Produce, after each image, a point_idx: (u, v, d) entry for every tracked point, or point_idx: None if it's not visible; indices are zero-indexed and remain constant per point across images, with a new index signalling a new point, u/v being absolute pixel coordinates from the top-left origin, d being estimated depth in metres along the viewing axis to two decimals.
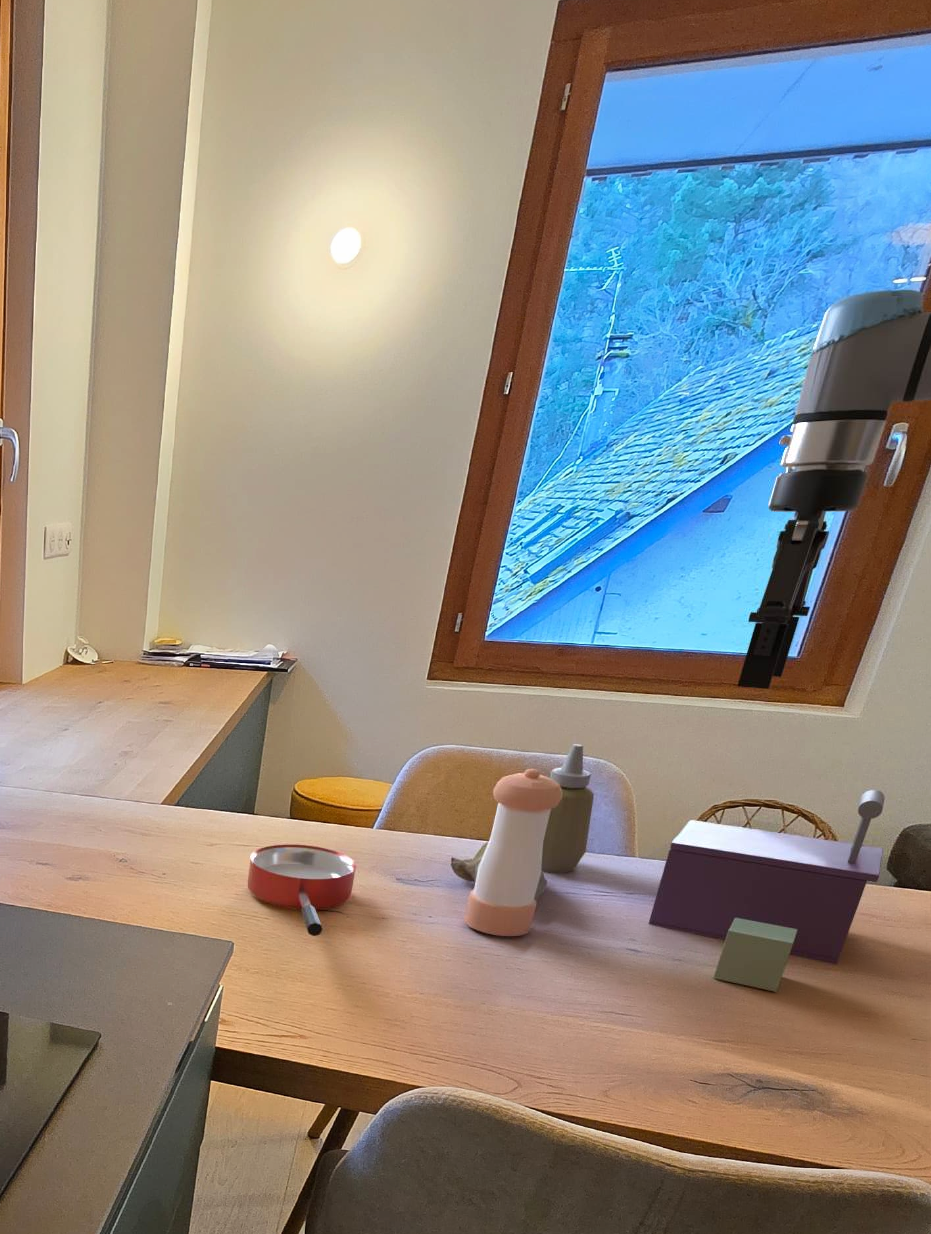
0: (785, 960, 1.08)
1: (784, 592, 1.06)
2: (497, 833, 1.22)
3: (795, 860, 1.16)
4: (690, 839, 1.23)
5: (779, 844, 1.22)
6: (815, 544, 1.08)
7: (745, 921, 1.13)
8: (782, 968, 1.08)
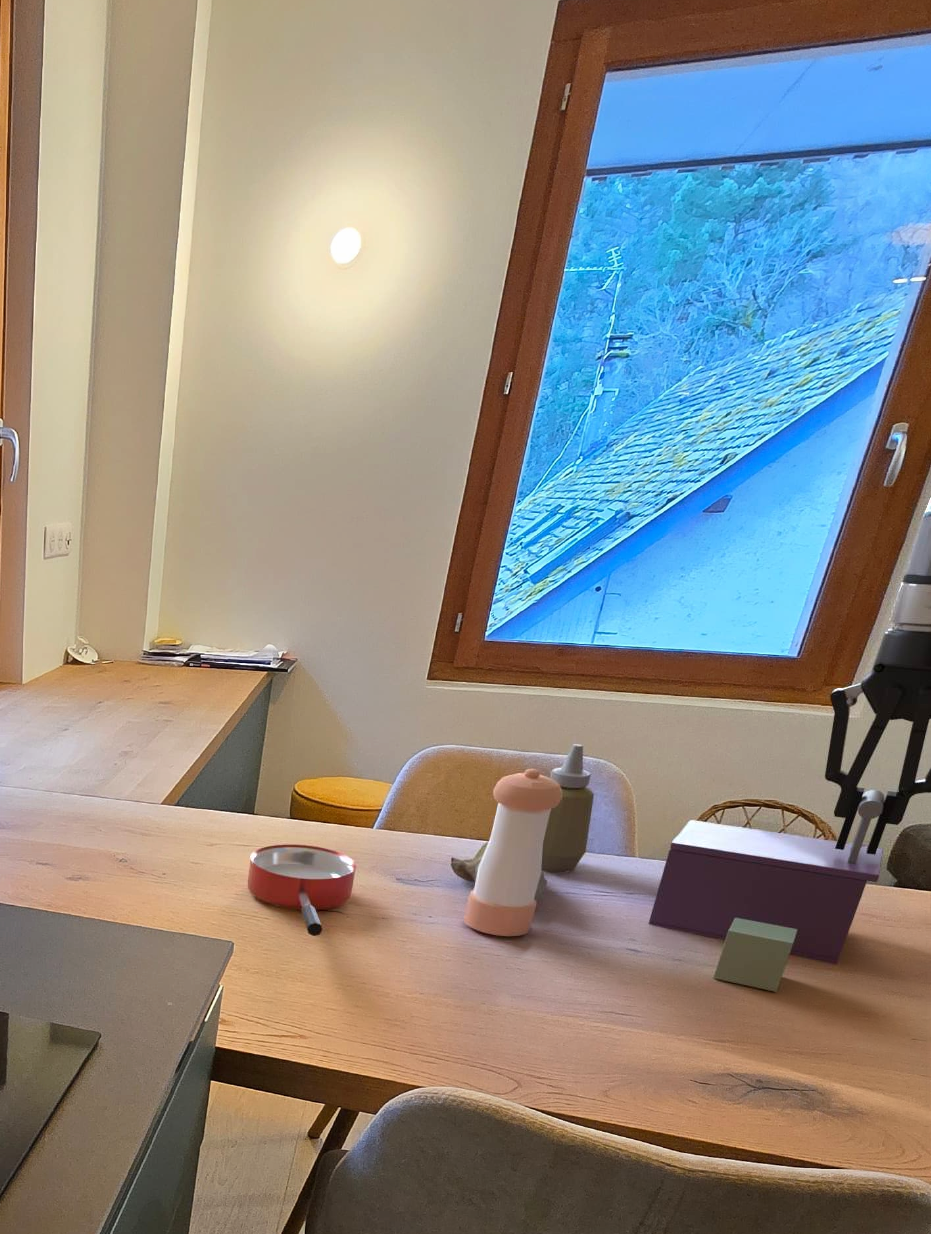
0: (785, 960, 1.08)
1: None
2: (497, 833, 1.22)
3: (795, 860, 1.16)
4: (690, 839, 1.23)
5: (779, 844, 1.22)
6: None
7: (745, 921, 1.13)
8: (782, 968, 1.08)
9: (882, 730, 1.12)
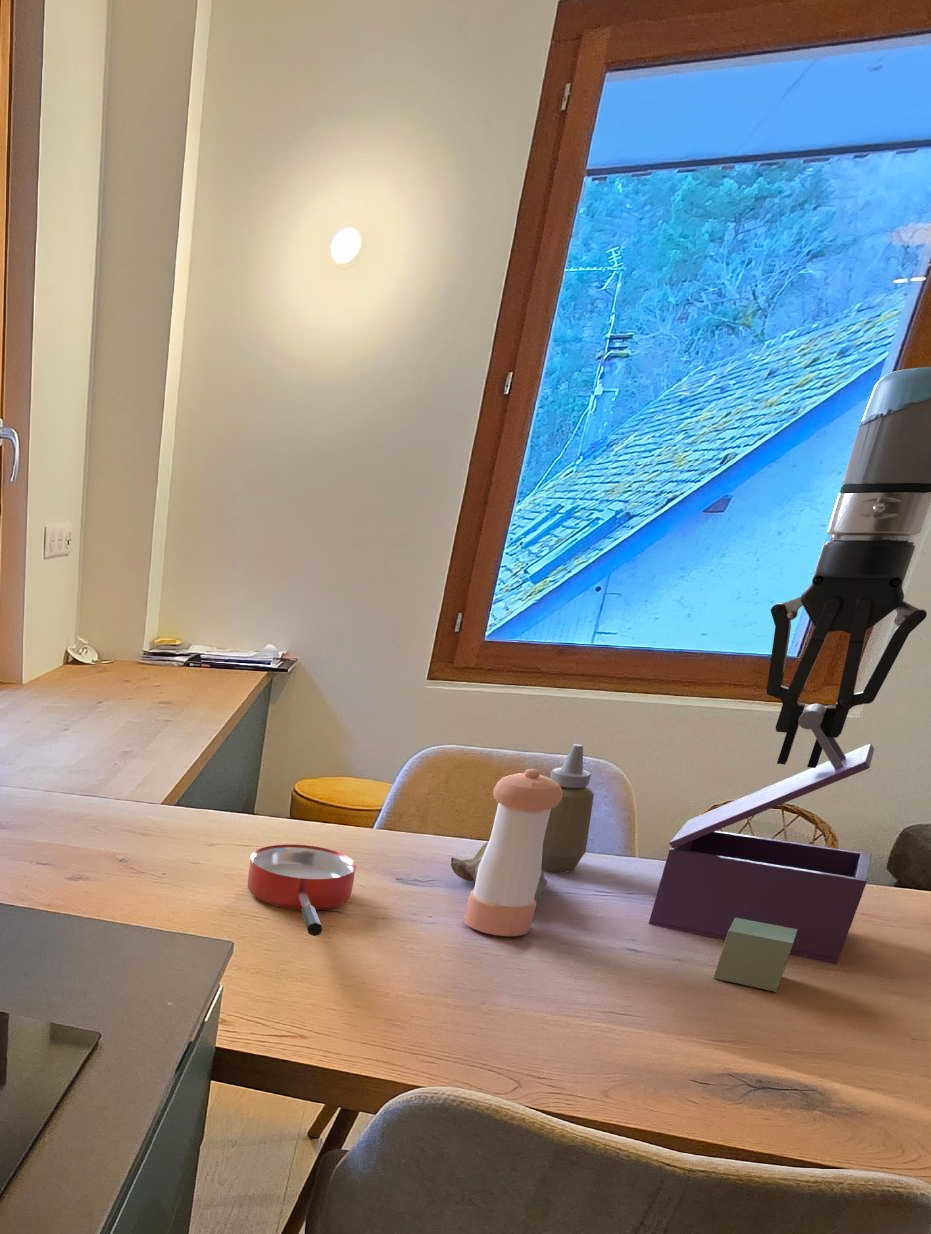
0: (785, 960, 1.08)
1: None
2: (497, 833, 1.21)
3: (785, 793, 1.15)
4: (686, 831, 1.23)
5: (770, 791, 1.21)
6: None
7: (745, 921, 1.13)
8: (782, 968, 1.08)
9: (821, 642, 1.13)
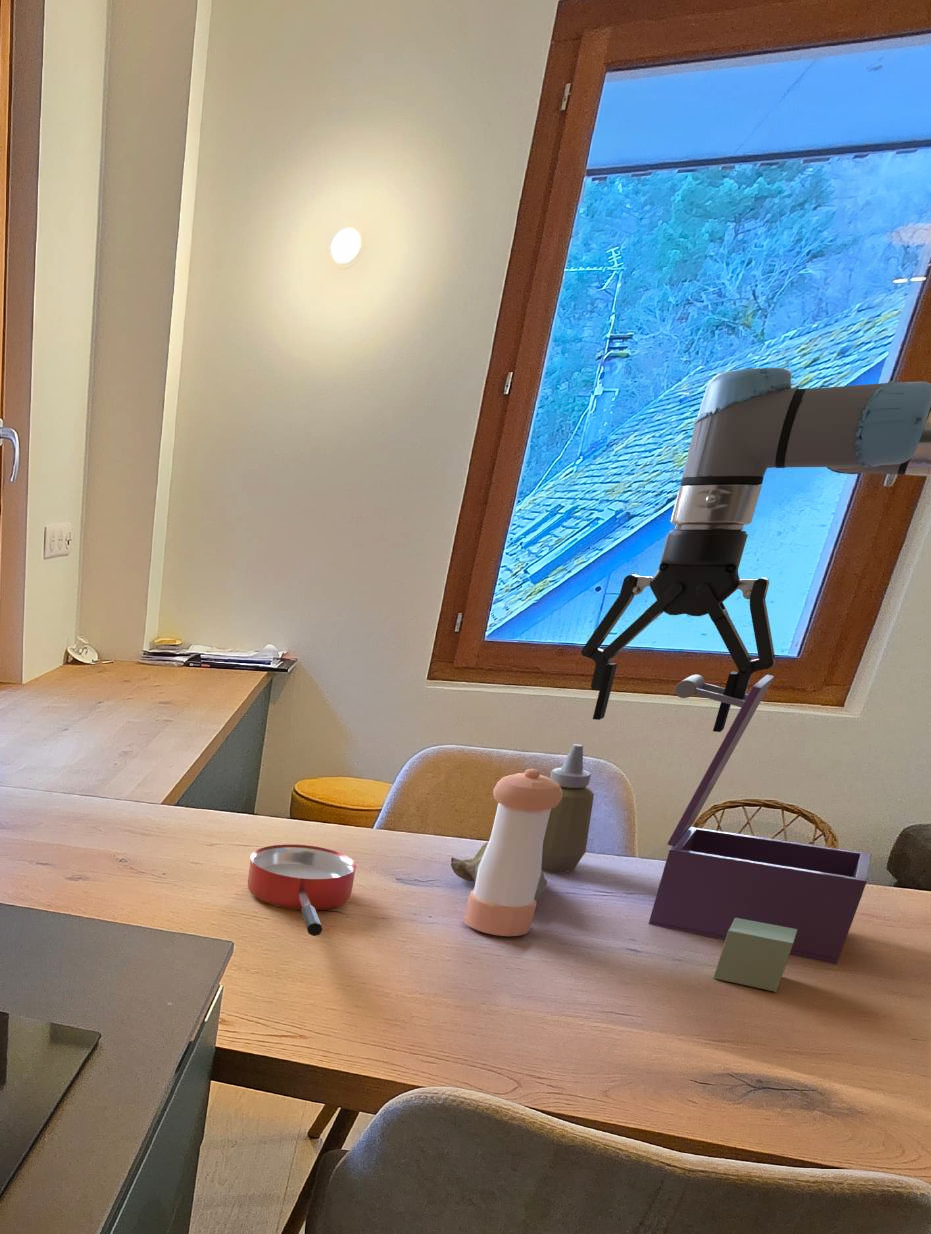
0: (785, 960, 1.08)
1: (772, 645, 1.17)
2: (497, 833, 1.21)
3: None
4: None
5: None
6: None
7: (745, 921, 1.13)
8: (782, 968, 1.08)
9: (649, 619, 1.22)
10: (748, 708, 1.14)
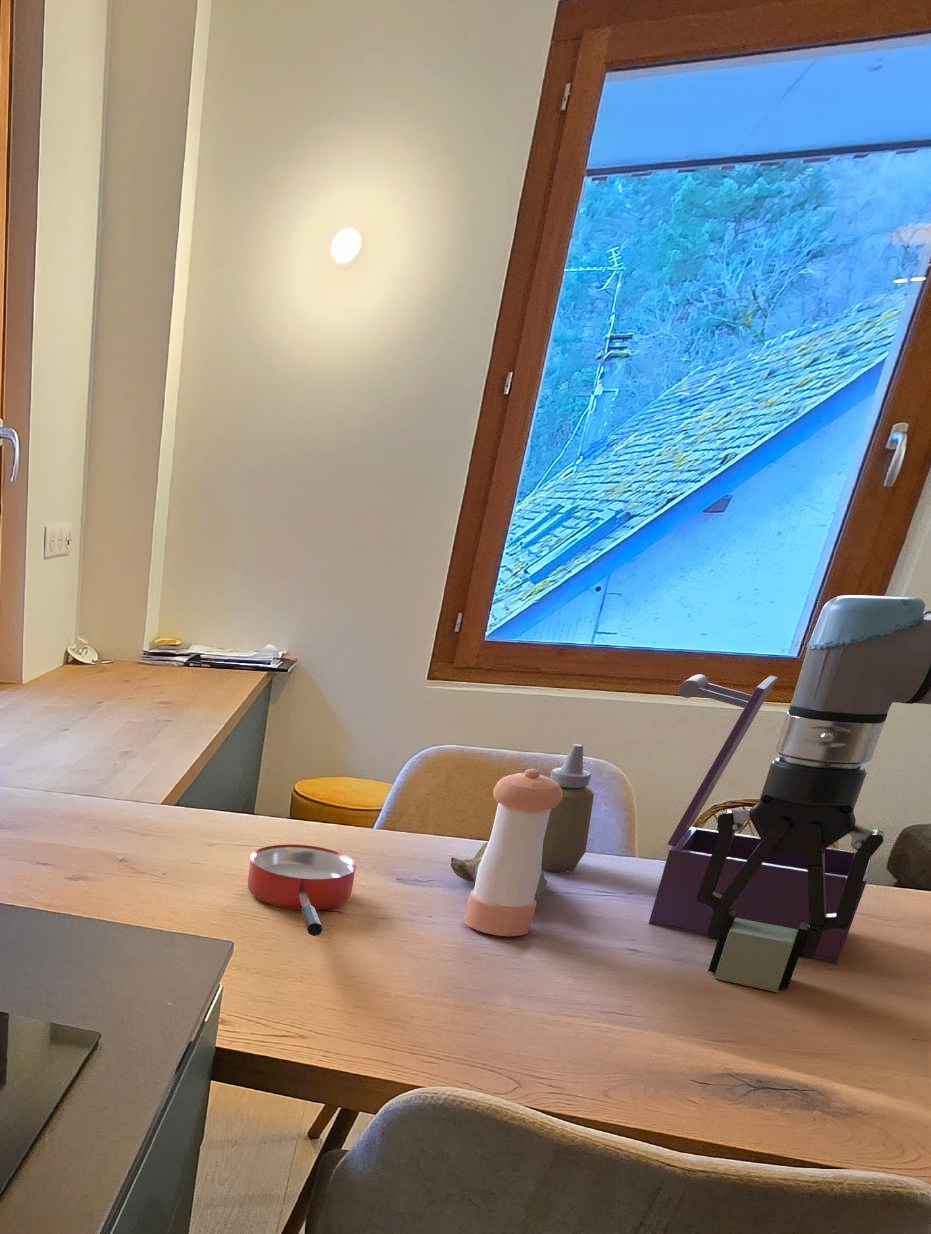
0: (786, 960, 1.08)
1: None
2: (497, 833, 1.22)
3: None
4: None
5: None
6: None
7: (746, 921, 1.13)
8: (783, 968, 1.08)
9: (762, 860, 1.08)
10: (751, 709, 1.14)
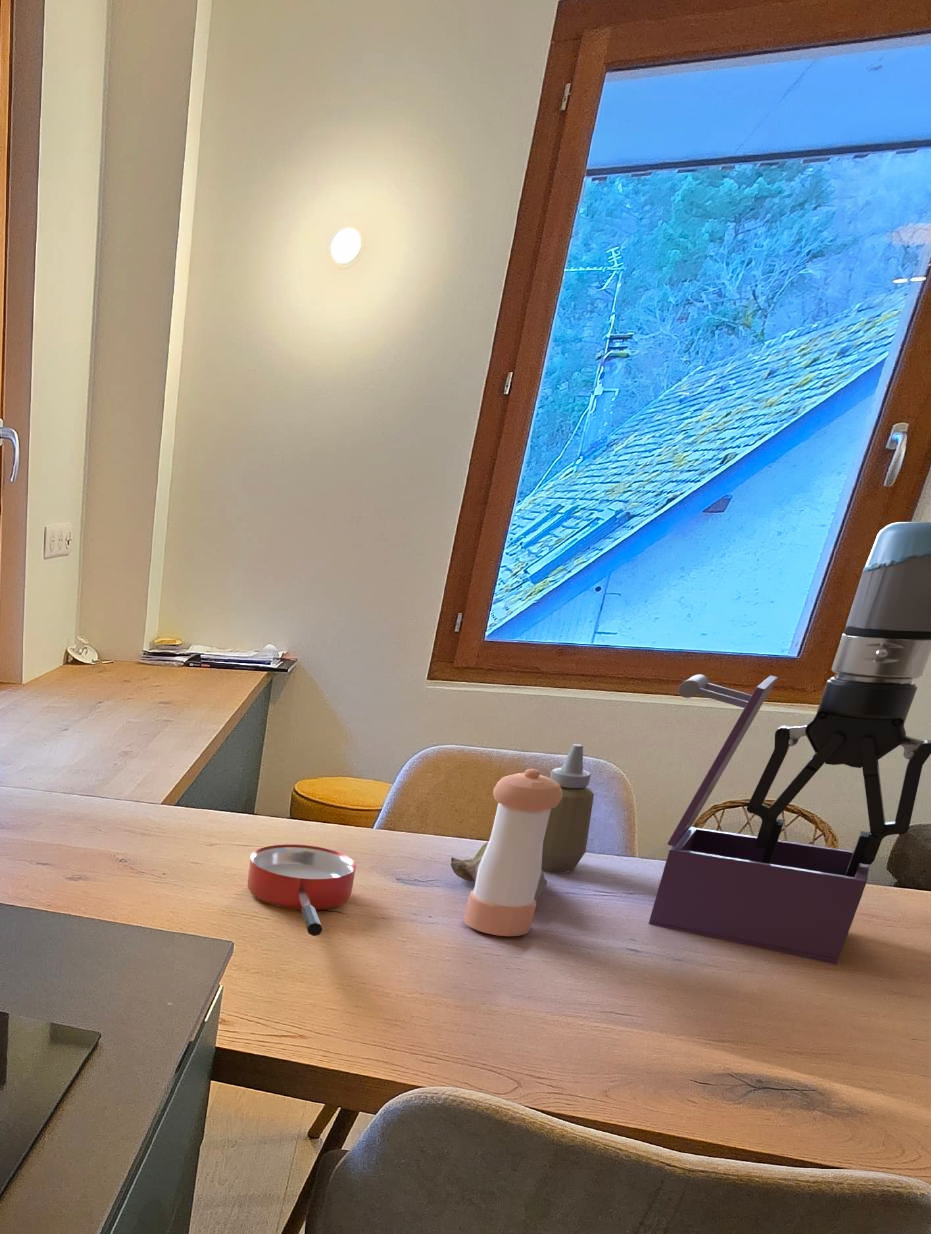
0: None
1: None
2: (497, 833, 1.21)
3: None
4: None
5: None
6: None
7: None
8: None
9: (814, 772, 1.16)
10: (751, 709, 1.14)
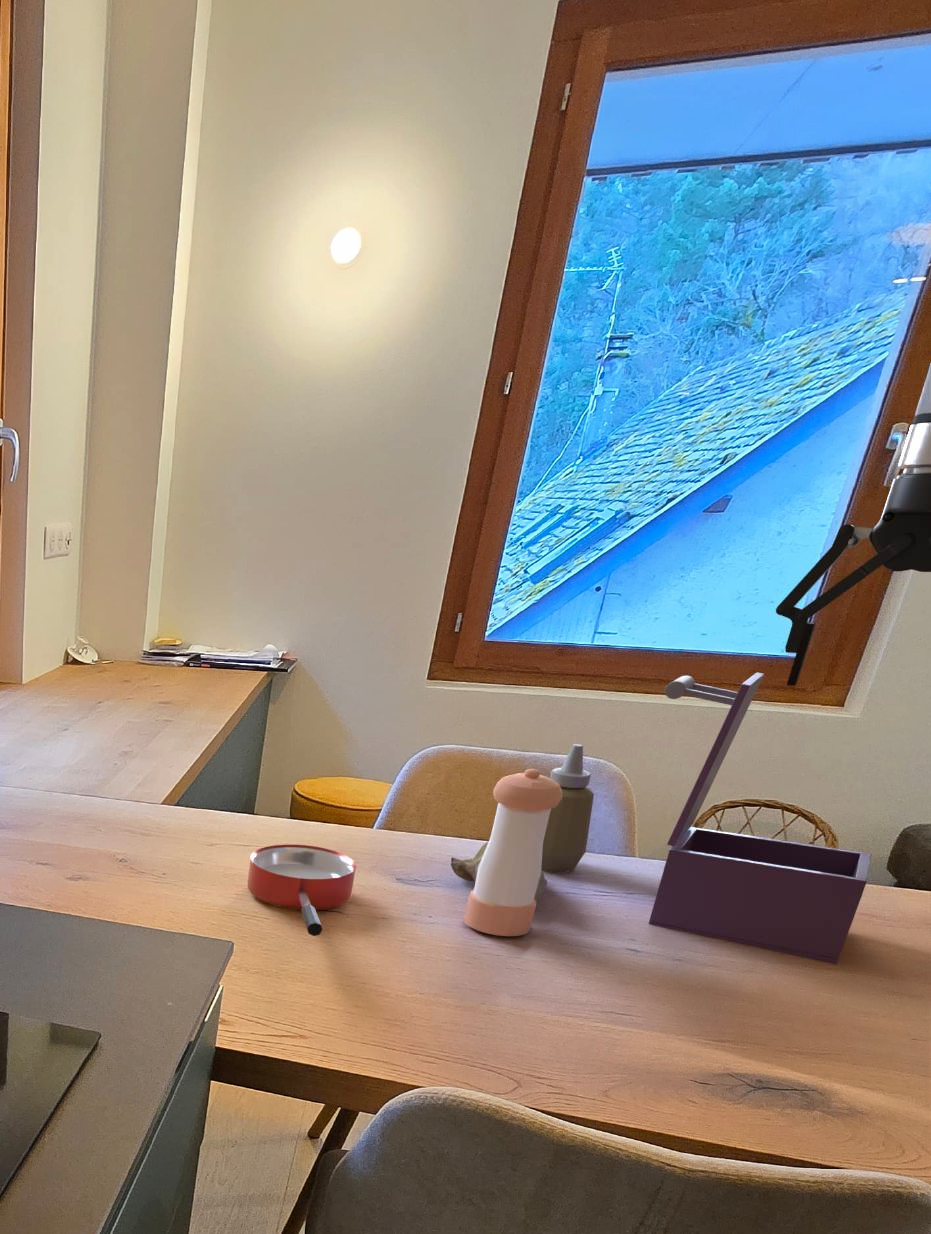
0: None
1: None
2: (497, 833, 1.22)
3: None
4: None
5: None
6: None
7: None
8: None
9: (865, 575, 1.09)
10: (739, 706, 1.14)
